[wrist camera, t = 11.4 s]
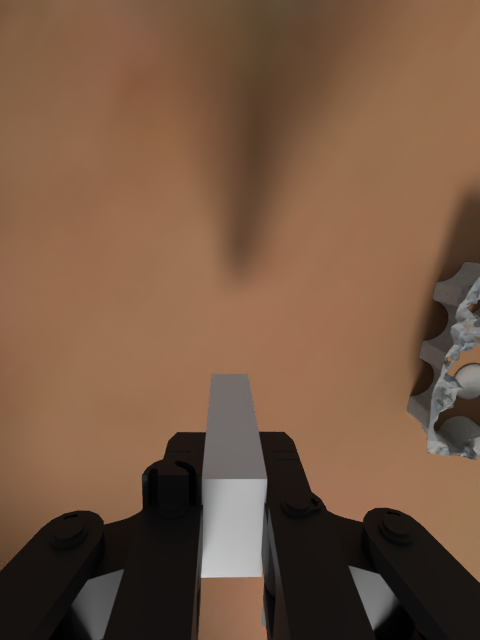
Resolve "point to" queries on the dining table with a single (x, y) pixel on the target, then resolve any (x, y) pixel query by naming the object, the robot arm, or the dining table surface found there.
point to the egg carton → (466, 383)
